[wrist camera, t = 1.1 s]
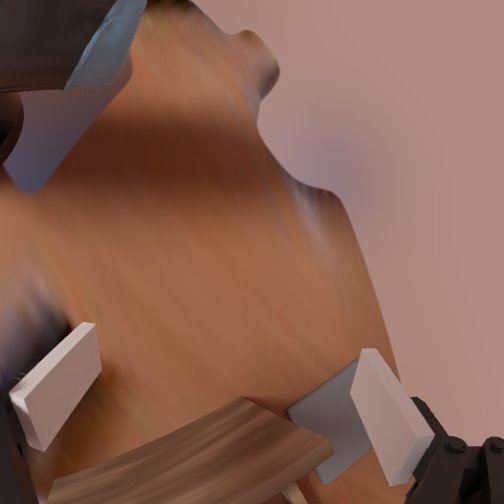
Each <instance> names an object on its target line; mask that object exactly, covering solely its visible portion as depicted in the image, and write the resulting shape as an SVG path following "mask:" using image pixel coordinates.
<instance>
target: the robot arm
mask: <svg viewBox="0 0 504 504" xmlns="http://www.w3.org/2000/svg"><path fill="white" fill-rule="evenodd" d="M146 3H147V0H0V166H1V165H2V164H3V163H4V161H5V160H6V159H7V158H8V156H9V155H10V153H11V152H12V150H13V148H14V147H15V145H16V143H17V141H18V139H19V136H20V133H21V130H22V126H23V120H24V111H23V106H22V102H21V99H20V96H19V93H18V92H21V91H35V90H55V89H62V92H68V91H69V90H70V89H86V88H102V87H105V86H108V85H109V84H111V83H112V82H113V81H115V80H116V79H117V78H118V76H119V75H120V73H121V71H122V68H123V66H124V63H125V61H126V58H127V55H128V52H129V50H130V47H131V44H132V41H133V39H134V36H135V33H136V30H137V28H138V25H139V22H140V19H141V17H142V14H143V11H144V9H145V6H146ZM101 370H102V368H101V362H100V354H99V347H98V338H97V329H96V324H92V323H87V322H82V323H81V324H80V325H79V326H78V327H77V328H76V329H75V330H74V331H72V332H71V333H70V334H69V335H68V336H67V337H66V338H65V339H64V340H63V341H62V342H61V343H60V344H58V345H57V346H56V347H55V348H54V349H53V350H52V351H51V352H50V353H49V354H48V355H47V356H46V357H45V358H44V359H43V360H42V361H40V362H39V363H38V362H34V363H31V364H29V365H27V366H26V367H25V368H23V369H22V370H21V371H20V373H18V374H17V375H16V376H15V378H13V379H12V380H11V381H10V382H9V383H8V384H7V385H6V386H5V387H4V388H2V389H1V390H0V504H39V502H38V499H37V496H36V492H35V489H34V486H33V482H32V479H31V475H30V472H29V468H28V464H27V460H26V456H25V452H24V447H23V445H22V443H21V441H22V439H23V438H24V437H26V439H27V441H28V443H29V446H31V447H33V448H36V449H38V450H40V451H43V452H45V451H46V449H47V448H48V446H49V445H50V443H51V442H52V440H53V439H54V437H55V436H56V434H57V433H58V431H59V430H60V428H61V427H62V425H63V424H64V423H65V421H66V420H67V418H68V417H69V415H70V414H71V412H72V411H73V410H74V408H75V407H76V405H77V404H78V402H79V401H80V400H81V398H82V397H83V395H84V394H85V393H86V391H87V390H88V388H89V387H90V386H91V384H92V383H93V381H94V380H95V379H96V377H97V376H98V375H99V373H100V372H101ZM350 395H351V397H352V399H353V401H354V404H355V406H356V408H357V411H358V413H359V415H360V417H361V420H362V422H363V424H364V427H365V429H366V431H367V434H368V436H369V438H370V441H371V443H372V445H373V448H374V450H375V452H376V455H377V457H378V460H379V462H380V464H381V467H382V469H383V471H384V474H385V476H386V479H387V481H388V484H389V486H395V485H400V484H405V483H407V482H408V480H409V479H410V477H411V476H412V474H413V475H414V477H415V479H416V481H415V483H414V484H413V486H412V487H411V489H410V490H409V492H408V493H407V494H406V497H407V498H406V500H405V502H404V504H504V439H502V438H500V437H490V438H488V439H486V441H485V442H484V444H483V445H482V446H474V447H473V446H467V444H466V443H465V442H464V441H463V440H462V439H460V438H457V437H454V436H448V434H447V433H446V431H445V430H444V428H443V427H442V426H441V424H440V423H439V421H438V420H437V419H436V417H435V416H434V414H433V413H432V412H431V411H430V409H429V407H428V406H427V404H426V403H425V402H424V401H422V400H421V399H419V398H418V397H409V395H408V394H407V392H406V391H405V389H404V388H403V386H402V385H401V383H400V382H399V381H398V379H397V378H396V376H395V375H394V373H393V372H392V370H391V369H390V368H389V366H388V365H387V363H386V362H385V360H384V359H383V358H382V356H381V355H380V353H379V352H378V351H377V349H376V348H362V351H361V355H360V358H359V362H358V366H357V370H356V373H355V377H354V380H353V384H352V387H351V391H350Z"/></svg>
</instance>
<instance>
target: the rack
mask: <svg viewBox="0 0 504 504" xmlns="http://www.w3.org/2000/svg"><path fill="white" fill-rule="evenodd" d="M333 454H335V452H334V449H333V447H332V445H331V443H330V440H329V438H326V437H324V436H322V435H320V434H317V433H315V432H313V431H310V430H308V429H306V428H304V427H302V426H299V425H297V424H295V423H293V422H291V421H289V420H287V419H285V418H283V417H280V416H278V415H276V414H274V413H272V412H270V411H268V410H266V409H264V408H262V407H260V406H259V405H257V404H255V403H253V402H251V401H249V400H247V399H245V398H243V397H239V398H238V399H236V400H234V401H232V402H230V403H228V404H227V405H225V406H223V407H221V408H219V409H217V410H216V411H214V412H212V413H210V414H208V415H206V416H204V417H202V418H200V419H198V420H196V421H194V422H192V423H190V424H188V425H186V426H184V427H182V428H180V429H178V430H176V431H174V432H172V433H170V434H168V435H165V436H163V437H161V438H159V439H157V440H155V441H152V442H150V443H148V444H146V445H143V446H141V447H139V448H136V449H134V450H132V451H129V452H127V453H125V454H122V455H120V456H117V457H115V458H112V459H110V460H107V461H105V462H102V463H99V464H97V465H94V466H91V467H89V468H86V469H83V470H80V471H78V472H75V473H72V474H69V475H66V476H63V477H60V478H57V479H54V482H53V485H52V488H51V491H50V494H49V497H48V501H47V504H262V503H263V502H265V501H267V500H268V499H270V498H272V497H273V496H275V495H276V494H278V493H280V492H281V493H282V495H283V496H284V498H285V499H286V501H287V503H288V504H308V503H307V501H306V500H305V498H304V496H303V495H302V493H301V491H300V489H299V488H298V486H297V484H296V481H298V480H299V479H301V478H302V477H303V476H305V475H306V474H308V473H309V472H311V471H312V470H313V469H315V468H316V467H317V466H319V465H320V464H321V463H323V462H324V461H325V460H327V459H328V458H329V457H331V456H332V455H333Z"/></svg>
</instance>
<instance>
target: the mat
mask: <svg viewBox="0 0 504 504" xmlns="http://www.w3.org/2000/svg"><path fill="white" fill-rule="evenodd" d="M358 362H359V360H355V361H354V362H352V363H351V364H350V365H348V366H347V367H346V368H345V369H343V370H342V371H341V372H339V373H338V374H337V375H335V376H334V377H332V378H331V379H330V380H328V381H327V382H326V383H324V384H323V385H321V386H320V387H319V388H317V389H316V390H314V391H313V392H312V393H310V394H309V395H307V396H306V397H304V398H303V399H301V400H300V401H298V402H297V403H295V404H294V405H292V406H291V407H289V408H288V409H286V412H287V414H288V416H289V418H290V420H291V422H293V423H295V424H297V425H299V426H302V427H304V428H306V429H308V430H310V431H313V432H315V433H317V434H320V435H322V436H324V437H326V438H329V440H330V443H331V445H332V447H333V449H334V452H335V454H333V455H332V456H331V457H329V458H328V459H327V460H325V461H324V462H323V463H321V464H320V465H319V466H317V467H316V468H315V470H316V472H317V474H318V476H319V478H320V480H321V482H322V484H323V485H325V486H326V485H327V484H329V483H330V482H331V481H332V480H334V479H335V478H336V477H338V476H339V475H340V474H341V473H343V472H344V471H345V470H346V469H347V468H349V467H350V466H351V465H352V464H353V463H355V462H356V461H357V460H358V459H359V458H361V457H362V456H363V455H364V454H365V453H366V452H367V451H368V450H370V449H371V448H372V447H373V445H372V443H371V441H370V438H369V436H368V434H367V431H366V429H365V427H364V424H363V422H362V420H361V417H360V415H359V413H358V411H357V408H356V406H355V404H354V401H353V399H352V397H351V395H350V391H351V387H352V384H353V380H354V377H355V373H356V370H357V366H358Z"/></svg>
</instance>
